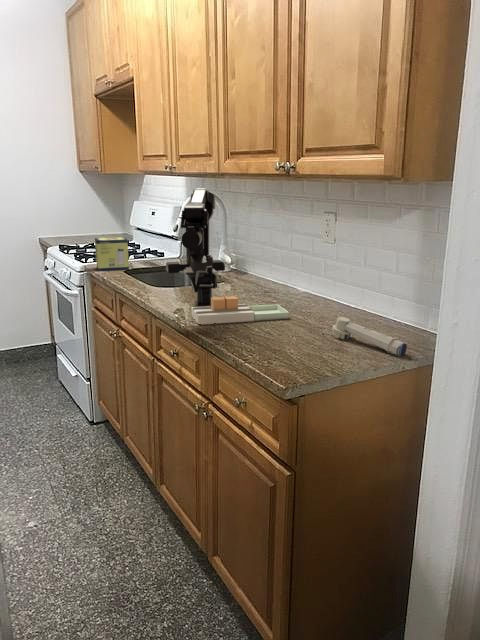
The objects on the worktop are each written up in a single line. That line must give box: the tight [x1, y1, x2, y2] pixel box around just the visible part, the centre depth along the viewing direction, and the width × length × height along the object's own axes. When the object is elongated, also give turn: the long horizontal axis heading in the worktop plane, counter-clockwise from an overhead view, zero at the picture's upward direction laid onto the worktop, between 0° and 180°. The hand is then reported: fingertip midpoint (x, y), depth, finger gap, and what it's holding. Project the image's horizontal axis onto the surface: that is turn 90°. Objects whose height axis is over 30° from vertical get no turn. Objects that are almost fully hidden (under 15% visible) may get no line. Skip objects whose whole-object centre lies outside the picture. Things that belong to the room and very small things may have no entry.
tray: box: [247, 303, 290, 322], centre depth 191 cm, size 12×12×2 cm
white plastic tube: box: [331, 316, 408, 357], centre depth 158 cm, size 5×7×25 cm
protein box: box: [94, 236, 130, 272], centre depth 279 cm, size 10×16×16 cm
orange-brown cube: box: [210, 296, 225, 310], centre depth 185 cm, size 4×4×4 cm
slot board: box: [191, 303, 255, 325], centre depth 186 cm, size 12×19×4 cm, turn 105°
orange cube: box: [223, 295, 239, 310], centre depth 186 cm, size 4×4×4 cm
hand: (195, 292), depth 182 cm, fingers closed
